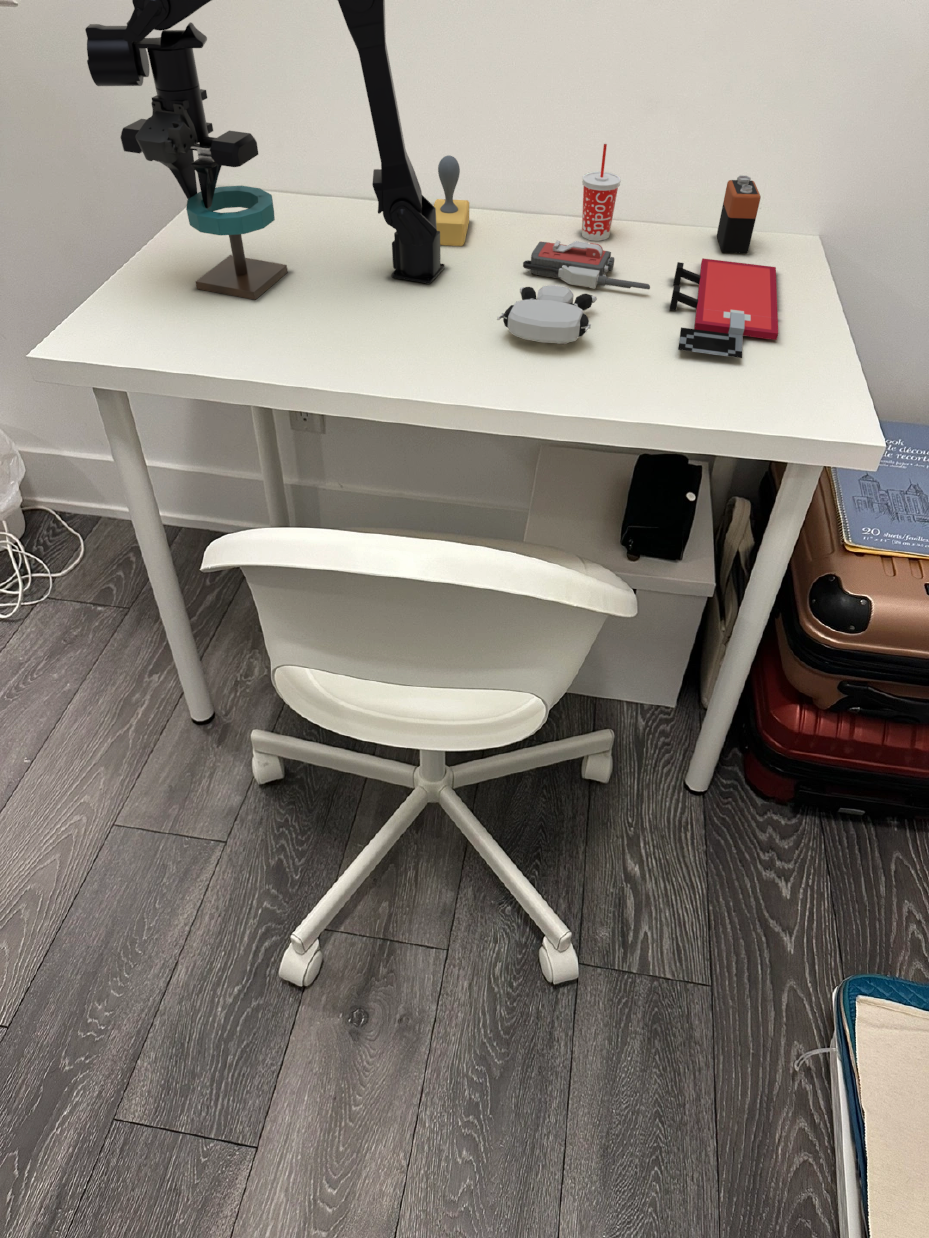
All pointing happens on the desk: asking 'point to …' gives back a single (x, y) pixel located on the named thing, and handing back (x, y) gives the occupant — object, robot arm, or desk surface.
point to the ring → (231, 222)
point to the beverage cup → (599, 202)
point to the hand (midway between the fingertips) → (201, 206)
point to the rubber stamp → (451, 206)
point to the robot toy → (548, 315)
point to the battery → (738, 215)
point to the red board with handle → (728, 306)
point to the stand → (241, 274)
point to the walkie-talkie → (576, 264)
